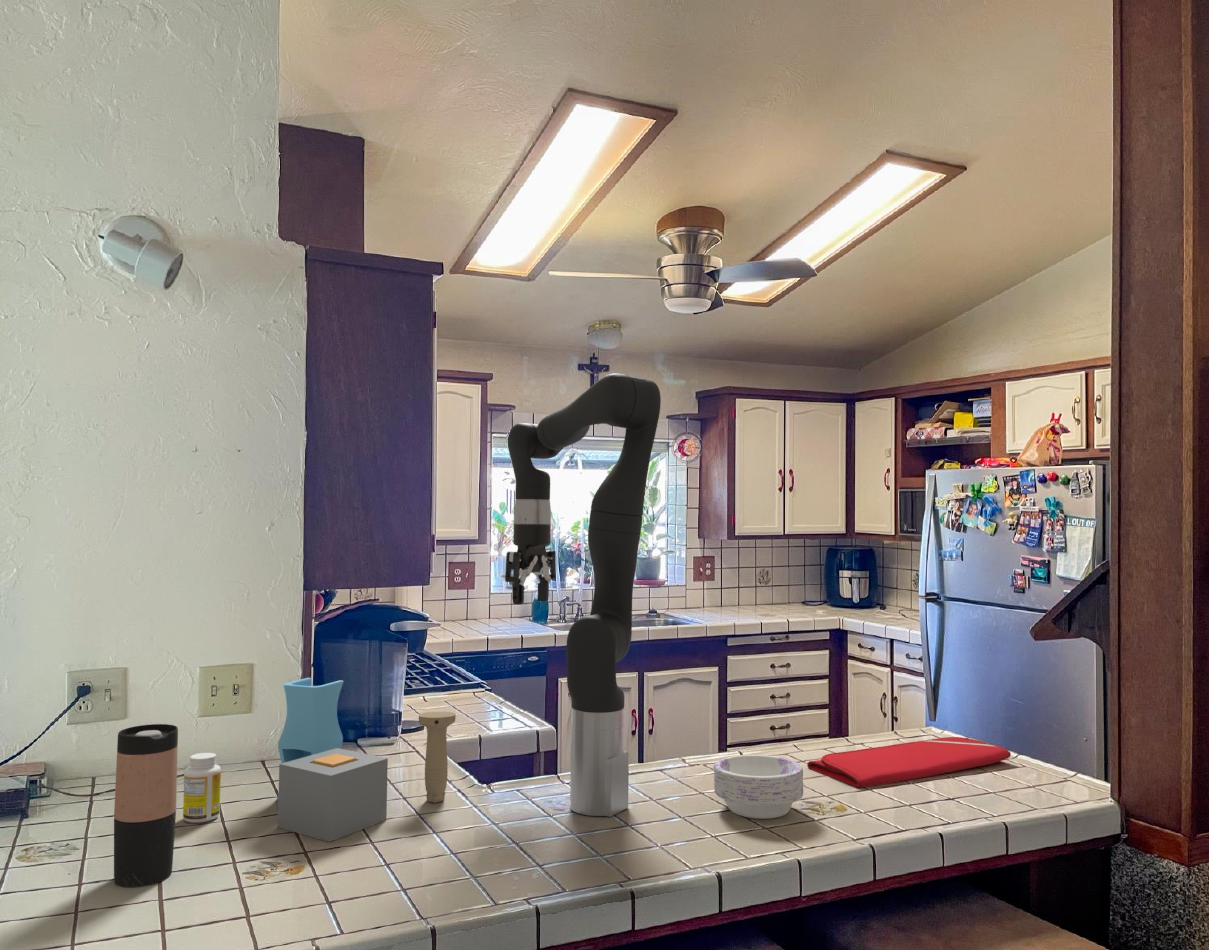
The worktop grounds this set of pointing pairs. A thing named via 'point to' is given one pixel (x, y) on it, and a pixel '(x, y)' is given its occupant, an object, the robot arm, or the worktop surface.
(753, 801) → the paper bowls
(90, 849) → the worktop surface
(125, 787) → the travel mug
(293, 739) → the vase
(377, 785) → the box
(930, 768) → the dish drying mat
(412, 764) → the worktop surface
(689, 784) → the worktop surface
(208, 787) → the supplement bottle
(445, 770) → the handle
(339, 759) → the button
